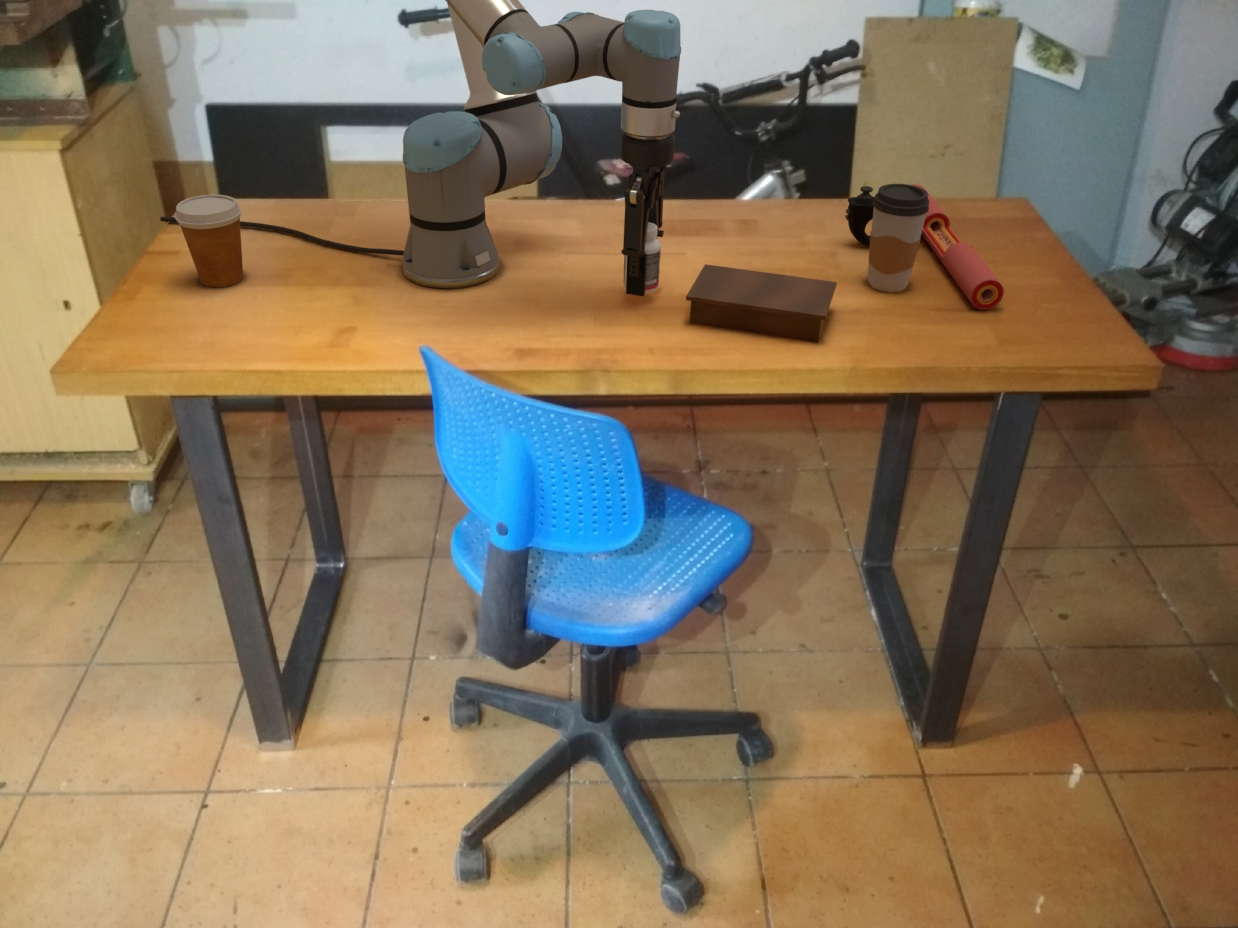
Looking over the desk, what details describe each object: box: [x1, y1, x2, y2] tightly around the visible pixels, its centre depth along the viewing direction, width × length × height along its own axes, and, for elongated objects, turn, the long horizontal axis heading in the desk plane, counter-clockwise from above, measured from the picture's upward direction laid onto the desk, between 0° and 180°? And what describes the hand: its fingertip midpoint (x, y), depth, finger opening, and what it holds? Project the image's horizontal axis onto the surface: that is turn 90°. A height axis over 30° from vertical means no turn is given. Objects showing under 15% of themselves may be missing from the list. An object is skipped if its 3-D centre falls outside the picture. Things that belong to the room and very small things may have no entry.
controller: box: [844, 185, 875, 247], centre depth 178 cm, size 4×12×10 cm, turn 95°
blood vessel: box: [911, 183, 1005, 311], centre depth 176 cm, size 42×5×5 cm, turn 2°
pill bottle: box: [622, 222, 662, 295], centre depth 158 cm, size 5×5×10 cm
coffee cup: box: [866, 183, 929, 293], centre depth 163 cm, size 8×8×15 cm
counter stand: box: [685, 263, 838, 343], centre depth 156 cm, size 20×12×4 cm, turn 73°
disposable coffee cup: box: [174, 194, 244, 288], centre depth 162 cm, size 10×10×12 cm
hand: (640, 285), depth 160 cm, fingers closed on pill bottle, 5 cm apart
